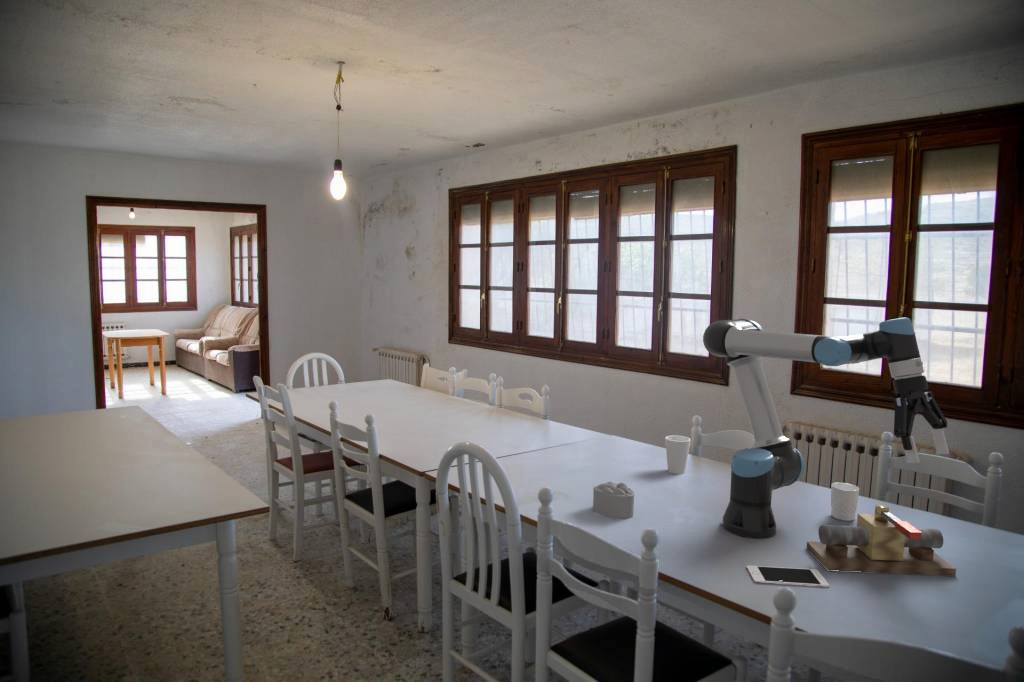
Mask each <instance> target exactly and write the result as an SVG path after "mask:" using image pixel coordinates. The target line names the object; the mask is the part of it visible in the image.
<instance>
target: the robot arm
mask: <svg viewBox="0 0 1024 682" xmlns="http://www.w3.org/2000/svg"><path fill="white" fill-rule="evenodd" d="M914 329H915V328H914V326H913V324H912V321H911V319H910V318H909V317H899V318H894V319H887V320H885V321H884V320H883V321H880V323H878V330H875V331H872V332H871V331H870V332H864V333H860V334H859V333H858V334H854V335H853V334H851V335H843V336H841V335H840V336H839V335H838V336H834V335H833V336H831V335H819V334H818V335H817V334H806V333H793V332H792V333H791V332H783V331H782V332H781V331H780V332H779V331H767V330H764V328H763V327H762V326H761V325H760V323H758V322H756V321H754V320H751V319H746V318H737V319H723V320H717V321H714V322H712V323H710V324H709V325H708V326H707V327H706V329H705V330H704V332H703V336H702V341H703V342H702V343H703V345H704V347H705V349H706V351H707V352H708V353H709V354H710V355H712V356H715V357H719V358H725V361H726V364H727V366H729V367H731V368H732V369H733V371H734V374H735V377H736V381H737V384H738V387H739V391H740V394H741V398H742V401H743V404H744V407H745V412H746V415H747V417H748V421H749V422H748V423H749V425H750V429H751V431H752V435H753V438H754V443H753V444H752V447H751V448H749V447H748V448H742V449H739V450H737V451H736V452H734V454H733V456H732V461H731V466H730V467H731V472H730V491H729V492H730V494H729V502H728V504H727V507H726V509H725V511H724V514H723V516H722V527H723V528H724V529H725V530H726V531H728V532H729V533H732V534H734V535H736V536H741V537H746V538H752V539H764V538H765V539H767V538H770V537H773V536H775V535H776V533H777V523H776V520H775V515H774V512H773V508H772V497H773V496H772V494H773V491H775V490H777V489H781V488H783V487H788V486H791V485H793V484H795V483H796V482H798V481H799V480H800V479H801V478H802V477H803V475H804V472H805V469H806V466H805V465H806V464H805V459H804V456H803V455H802V453H801V452H800V450H798V449H797V448H796V447H794V446H793V444H792V442H791V439H790V438H789V437H787V436H785V435H784V433H783V430H782V425H781V423H780V420H779V416H778V413H777V410H776V407H775V403H774V400H773V396H772V393H771V390H770V387H769V385H768V381H767V377H766V374H765V371H764V368H763V363H762V360H763V358H771V359H778V360H779V359H781V360H787V361H798V362H799V361H800V362H808V363H818V364H821V365H822V366H827V367H839V366H843V365H854V364H859V363H863V362H869V361H874V360H879V359H885V358H886V359H887V364H888V367H889V371H890V377H891V378H892V379H894V380H893V381H892V385H893V388H894V393H895V394H900V397H896V398H895V397H894V399H893V403H894V421H893V435H894V436H895V437H896V439H897V438H898V439H899V438H900V440H901V444H902V446H903V451H904V454H905V459H906V462H907V463H906V464H915V463H917V464H918V463H921V462H920V458H919V453H918V450H917V445H916V442H915V441H916V440H915V437H914V436H912V431H913V427H914V421H915V416H916V415H917V414H918V413H920V415H922V417H923V418H924V419H925V420H926V421H927V423H928V424H929V425H930V426H931V429H930V433H931V436H932V441H933V444H934V447H935V452H936V455H947V454H950V450H949V447H948V443H947V438H946V435H945V432H944V429H947V428H948V420H947V419H946V417H945V415H944V413H943V412H942V409H941V408H940V406H939V404H938V403H937V401H936V400H935V397H934V394H933V392H932V391H926V390H928V389H929V385H928V381H927V377H926V375H923V374H924V372H925V370H924V366H923V365H924V362H923V361H922V357H921V354H920V349H919V345H918V341H917V340H918V339H917V337H916V332H915V330H914Z"/></svg>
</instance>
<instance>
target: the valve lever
mask: <svg viewBox="0 0 1024 682" xmlns="http://www.w3.org/2000/svg"><path fill="white" fill-rule="evenodd" d="M874 514H875V517H874V519H876V520H878V521H883V522H887V521H889V522H891V523H892V524H893V525H895V529H897V530H898V531H899V532H901V533H902V534H903V535H905V536H906V537H907V538H909V539H915V540H921V534H922V532H920V531H919V530H917V529H916V528H917V527H915V526H913V525H911V524H910V523H909V522H908V521H906V520H905V521H903V520H901V519H900V518H899V517H897V516H896V515H895V514H894V513H892V512H890V508H889V506H887V505H884V504H876V505H875V506H874Z"/></svg>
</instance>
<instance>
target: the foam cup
mask: <svg viewBox="0 0 1024 682" xmlns="http://www.w3.org/2000/svg"><path fill="white" fill-rule="evenodd" d="M691 441H692V440H691V438H690V437H688V436H683V435H677V434H676V435H667V436H665V439H664V445H665V451H666V453H665V454H666V464H667V471H668V473H671V474H674V475H683V474H685V473H686V472H685V471H686V468H687V464H688V457H689V454H690V446H691Z"/></svg>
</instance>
